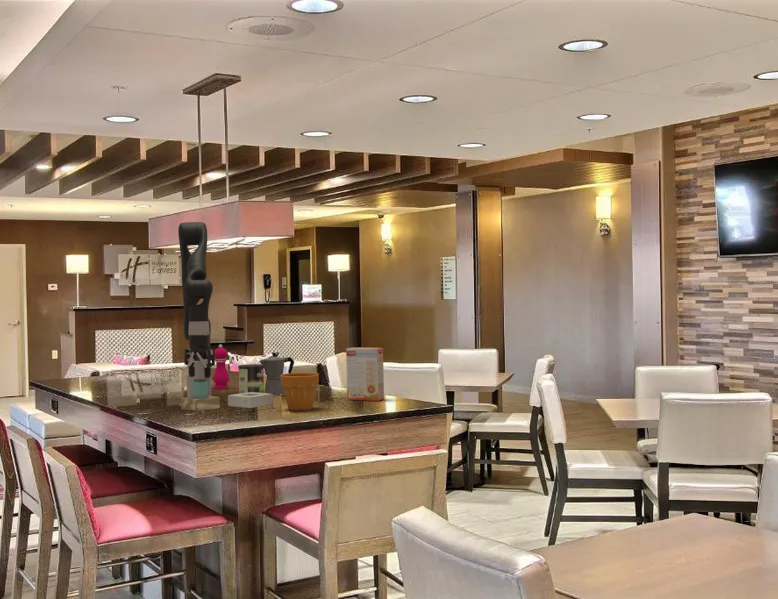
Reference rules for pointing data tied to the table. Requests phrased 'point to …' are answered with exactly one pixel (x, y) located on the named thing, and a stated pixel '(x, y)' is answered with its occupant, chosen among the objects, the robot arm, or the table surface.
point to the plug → (200, 388)
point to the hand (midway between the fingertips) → (199, 377)
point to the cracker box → (365, 374)
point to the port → (250, 400)
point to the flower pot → (300, 389)
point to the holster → (200, 403)
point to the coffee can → (251, 378)
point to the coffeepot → (275, 373)
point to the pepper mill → (220, 369)
